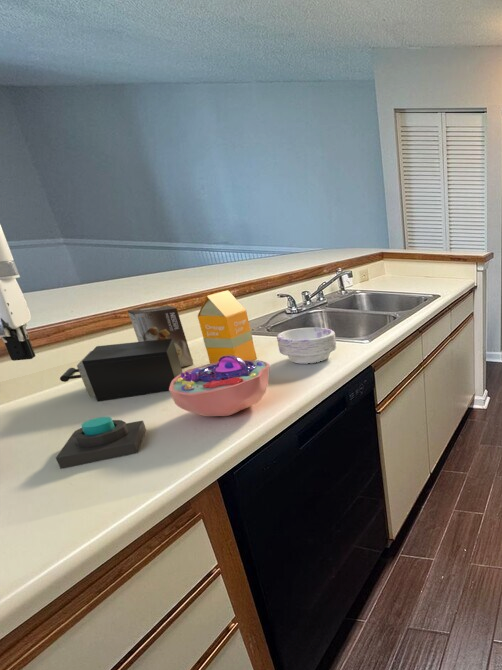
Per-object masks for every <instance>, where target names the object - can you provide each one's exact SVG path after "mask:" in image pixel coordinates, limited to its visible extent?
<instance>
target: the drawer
mask: <svg viewBox="0 0 502 670" xmlns="http://www.w3.org/2000/svg"><path fill="white" fill-rule="evenodd" d="M92 351H93V350H90V351H89V352H88V353H87V354H86V355H85V356H84V357H83V358H82V359H81V360H80V361H79V363H77V365H76V368H75V367H69V368H68V369H67V370H66V371H64V373H63V374H62V375H61V376H60V377H59V381H61V382H63V383H66V382H68V381H69V380H74V379H81V380H82V383H83V385H84V388H85V390H86V392H87V395H88V398H89V399H93V398H96V396H95V394H94V391H93V388H92V386H91V383H90V381H89V378H88V376H87V373H86V370H85V368H84V365H83V363H82V361H83V360H84V359H85V358H86V357H87V356H88V355H89V354H90V353H91V352H92ZM76 373H79V374H76Z"/></svg>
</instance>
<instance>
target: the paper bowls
mask: <svg viewBox="0 0 502 670" xmlns="http://www.w3.org/2000/svg"><path fill="white" fill-rule="evenodd" d="M276 339H277V346H278V351H279V354H281V355H284V356H286V357H288V359H289V360H290V361H291V362H292V363H295V364H301V365H303V364H304V365H308V363H310V364H316V362H317V363H320V361H321V362H323V361H325V360H327V359H328V358H329V357H330V355H331V353H332V352H334V351H336V350H337V341H336V339H337V338H336V333H335V331H334V330H333V329H331V328H325V327H300V328H293V329H287V330H284V331H282V332H279V333H278V334H276Z"/></svg>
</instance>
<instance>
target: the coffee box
mask: <svg viewBox="0 0 502 670" xmlns="http://www.w3.org/2000/svg"><path fill="white" fill-rule="evenodd" d="M127 313H128V316H129V319H130V321H131V325H132V327H133V331H134V333H135V336H136V339H137V342H142V341H152V340H162V339H171V338H173V342H174V345H175V348H176V352H177V355H178V358H179V362H180V365H181V368H183V367H188V366H192V365H194V361H193V357H192V354H191V351H190V347H189V344H188V340H187V337H186V334H185V331H184V327H183V324H182V322H181V321H182V320H181V318H180V314H179V311H178V308H177V307H175V306H173V305H169V304H167V305H161V306H152V307H151V306H150V307H143V308H136V309H129V310H127Z"/></svg>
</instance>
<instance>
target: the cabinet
mask: <svg viewBox="0 0 502 670" xmlns="http://www.w3.org/2000/svg"><path fill="white" fill-rule="evenodd" d="M91 351H92V352H91V353H90V354H89V355H88V356H87V357H86V358H85V359H84V358H83V359H84V360H83V359H82V360H83V361H82V360H81V361H82V363H83V365H84V368H85V370H86V373H87V376H88V378H89V381H90V383H91V386H92V388H93V391H94V394H95V396H96V397H95V398H96V399H95V400H96V401H97V402H104V401H111V400H117V399H124V398H130V397H138V396H144V395H150V394H159V393H163V392H170V391H169V387H170V384H171V382H172V380H173V379H174V378H175V377H177V376H178V375H180V374H181V373H183V372H184V371H183V369H182V367H181V365H180V362H179V358H178V355H177V352H176V348H175V345H174V342H173V338H171V339H162V340H152V341H142V342H138V341H134V342H124V343H115V344H105V345H96V346H95V347H94V348H93V349H92V350H91Z"/></svg>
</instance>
